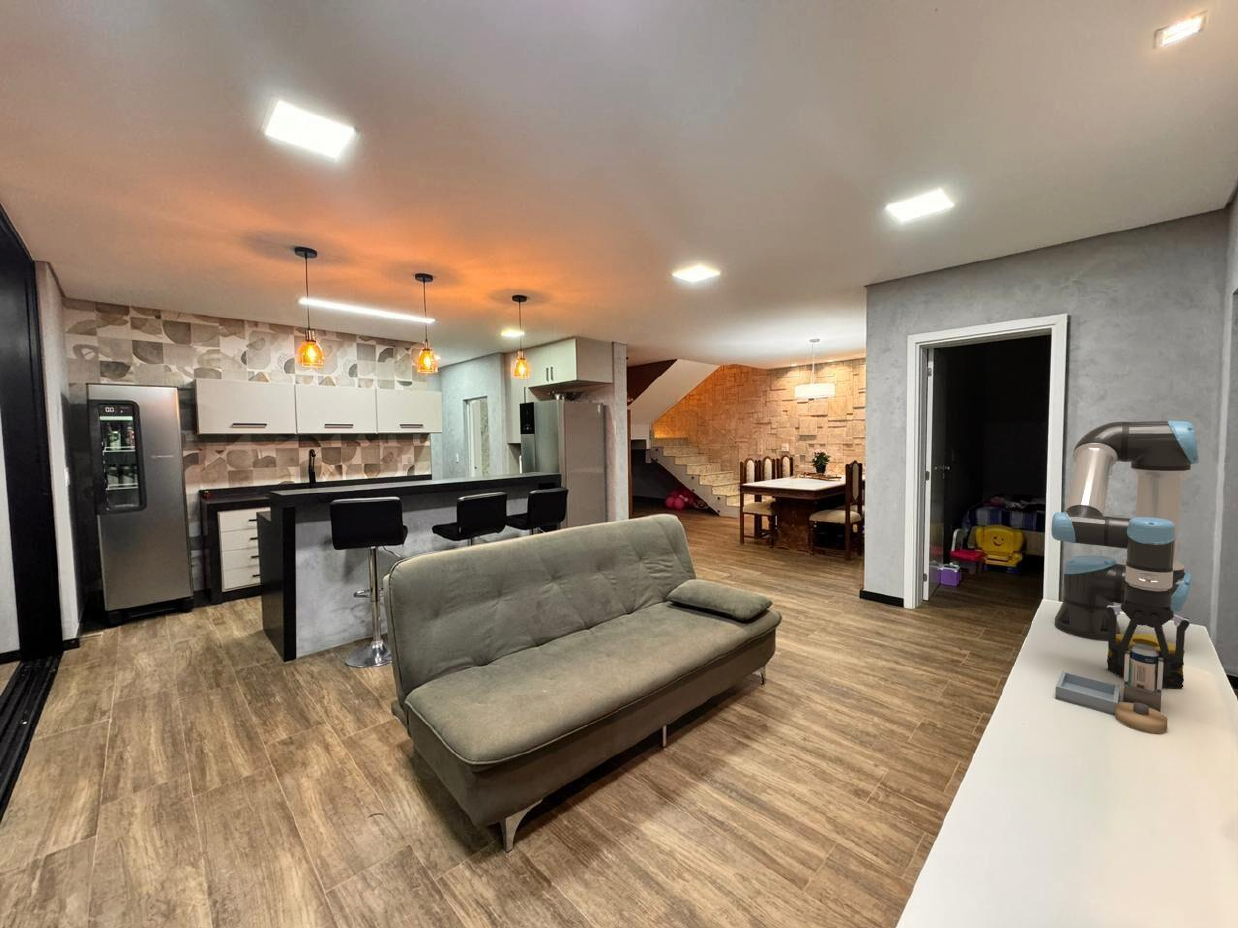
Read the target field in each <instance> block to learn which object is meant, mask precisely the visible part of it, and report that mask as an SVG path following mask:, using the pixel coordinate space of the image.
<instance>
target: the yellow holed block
mask: <svg viewBox="0 0 1238 928" xmlns="http://www.w3.org/2000/svg"><path fill="white" fill-rule="evenodd" d="M1124 634H1125V633H1120V634H1116V643H1119V644H1120V643H1121V641H1122V638H1123V636H1124ZM1166 642H1167V641H1166ZM1137 643H1138V644H1145V645H1149V646H1152V647H1154V648H1156V650H1157V651H1158V653H1159V658H1163V657H1162V654H1161V650H1160V647H1159V643H1158V640H1157V636H1156V635H1155V636H1154V635H1152V634H1150V633H1134V634H1133V636H1132V638H1131V641H1130V643H1129V645H1128V647H1127V650H1126V651H1130V647H1131V646H1132V645H1133V644H1137ZM1167 645H1168V648H1169V652H1170V655H1175V648H1176V645H1174V644H1172V643H1170V642H1167ZM1107 647H1108V648H1107V649H1108V650H1107V651H1108V652H1107V659H1106V663H1107V671H1109V672H1112V674H1114V675H1116V676H1118V677H1119V678H1121V679H1123V680H1124V666H1122V665H1119V664H1118V651H1117V650H1115V649H1113V648H1110V647H1109V646H1107ZM1185 652H1186V651H1185V650H1184V653H1185ZM1184 656H1185V654H1184V655H1183V659H1184ZM1158 661H1159V660H1158ZM1129 665H1130V664H1129ZM1184 665H1185V663H1184V661H1183V662H1182V663H1178V662H1173V663H1171V670H1170V675H1169V676H1165V675H1163V679H1162V689H1174V690H1177V689H1180V690H1181V689H1183V688H1184V687H1185V686H1184V680H1185V679H1184ZM1157 679H1158V677H1157Z"/></svg>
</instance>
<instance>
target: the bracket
mask: <svg viewBox="0 0 1238 928" xmlns="http://www.w3.org/2000/svg"><path fill="white" fill-rule="evenodd" d="M1128 684H1129V680H1128V682H1126V681H1124V683H1123V691H1122V695H1123V696H1122V702H1127V703H1135V702H1138V703H1143V704H1145V705H1147V706H1149V708H1152V709H1154V710H1157V711H1159V712H1160V713H1162V712H1161V709H1162V690H1159V689H1157V692H1154V691H1150V690H1146V689H1142V688H1138V687H1134V686H1130V685H1128Z"/></svg>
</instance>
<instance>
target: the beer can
mask: <svg viewBox="0 0 1238 928" xmlns="http://www.w3.org/2000/svg"><path fill="white" fill-rule="evenodd" d="M1158 660H1159V653H1158V651H1157V650H1156V648H1154V647H1152V646H1149V645H1145V644H1138V643H1137V644H1133V645H1132V646H1131V647H1130V665H1129V684H1128V685H1130V686H1134V687H1138V688H1142V689H1146V690H1150V691H1154V692H1157V677H1158Z"/></svg>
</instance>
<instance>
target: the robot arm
mask: <svg viewBox="0 0 1238 928" xmlns="http://www.w3.org/2000/svg"><path fill="white" fill-rule="evenodd" d="M1197 443H1198V441H1197V437H1196V430H1195V425H1194V424H1192V423H1191V422H1189V421H1185V420H1184V421H1183V420H1181V421H1179V420H1151V421H1149V420H1148V421H1113V422H1109V423H1106V424H1102V425H1099V426H1098V427H1095V428H1094V429H1092V430H1090V431H1088V432H1087V433H1086V434H1084V435H1083V436H1082V437H1081V438H1080V439H1079V441H1078V442H1077V443H1076V445H1075V447H1074V449H1073V452H1072V453H1073V454H1072V459H1073V461H1074V463H1075V464H1074V469H1073V473H1072V479H1071V483H1070V488H1069V492H1068V497H1067V502H1066V506H1065V507H1066V508H1065V511H1062V512H1055V513H1054V514H1053V515H1052V518H1051V519H1052V520H1051V527H1050V528H1051V529H1050V530H1051V537H1052V538H1053V539H1054V540H1056V541H1060V542H1065V543H1070V544H1083V545H1089V546H1100V547H1109V548H1117V549H1125V550H1126V560H1125V561H1126V562H1125V564H1121V563H1117V560H1116V558H1114V557H1111V556H1106V555H1093V554H1092V555H1091V554H1090V555H1088V554H1086V555H1085V554H1084V555H1076V556H1075V555H1074V556H1071V557H1068V558H1067V559H1065V562H1064V569H1063V571H1062V572H1063V588H1062V589H1063V593H1062V603H1061V605H1060V607H1059V610H1058V611H1057V613H1056V615H1055V617H1054V626H1055V627H1056V628H1057V629H1059V630H1060V631H1061V632H1064V633H1066V634H1069V635H1073V636H1077V637H1079V638H1084V639H1091V640H1096V641H1097V640H1098V641H1107V645H1108V646H1109V647H1110V648H1113V649H1115V650H1117V651H1118V664H1119V665H1122V666H1124V679H1123V681H1124V682H1125V681H1126V682H1128V680H1129V664H1130V651H1126V650H1127V647H1128V645H1129V643H1130V641H1131V638H1132V636H1133V634H1135V631H1136V629H1137V627H1138V626H1144V627H1149V628H1151V629H1154V634H1155V637H1157V640H1158V643H1159V647H1160V650H1161V654H1162V657H1163V658H1159V661H1158V679H1157V689H1159V690H1161V691H1163V688H1162V679H1163V675H1165V676H1169V675H1170V670H1171V663H1173V662H1178V663H1182V662H1184V658H1183V655H1184V656H1185V652H1184V651H1185V636H1186V635H1185V634H1186V630H1187V629H1188V628H1189V627H1190V619H1189V618H1188V617H1181V616H1180V615H1176V614H1175V613H1179V612H1182V610H1183V609H1184V607H1185V606H1186V603H1187V599H1188V595H1189V591H1190V587H1191V581H1192V573H1189V572H1187V571H1185V565H1184V564H1182V563H1181V562H1180V561H1179V560H1178V544H1179V531H1180V529H1179V528H1180V527H1179V526H1180V514H1181V511H1180V510H1181V497H1182V496H1181V494H1182V483H1183V482H1182V481H1183V480H1182V479H1183V476H1184V475H1186V474H1187V473H1189V472H1190V471H1191V470H1192V469H1191V468H1192V467H1191V465H1196V464H1197V465H1198V464H1199V463H1200V459H1199V452H1198V444H1197ZM1117 462H1122V463H1130V469H1131V470H1132V471H1133V472H1134V473H1136V474H1137V487H1136V504H1135V505H1136V506H1135V517H1133V518H1130V517H1117V516H1105V509H1106V504H1107V503H1106V502H1107V501H1106V500H1107V494H1108V490H1109V482H1110V478H1111V470H1112V467H1113V466H1115V464H1116V463H1117ZM1115 604H1118V605H1115ZM1119 604H1120V605H1119ZM1121 611H1122V612H1123V613H1124V614H1125V616H1126V617H1128V619H1129V622H1128V625H1127V627H1126V630H1125V632H1124V633H1123V634H1124V636H1123V638H1122V641H1121V643H1120V644H1119V643H1116V634H1121V628H1120V625H1119V622H1118V616H1120V614H1121ZM1171 620H1173V624H1174V626H1175V627H1176V635H1175V636H1176V637H1175V646H1176V648H1175V655H1170V652H1169V648H1168V645H1167V638H1166V634H1165V632H1164V628H1163V626H1164V625H1165V624H1167V623H1168V622H1170V621H1171ZM1108 646H1107V647H1108Z"/></svg>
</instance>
